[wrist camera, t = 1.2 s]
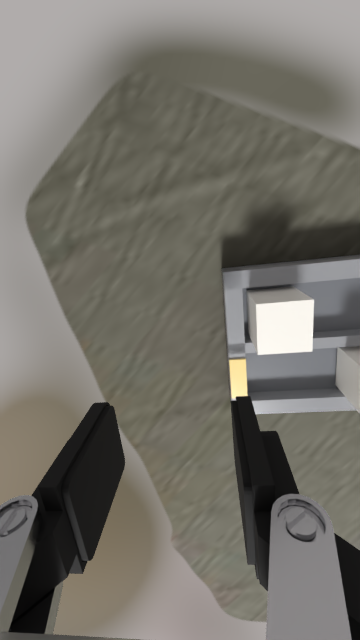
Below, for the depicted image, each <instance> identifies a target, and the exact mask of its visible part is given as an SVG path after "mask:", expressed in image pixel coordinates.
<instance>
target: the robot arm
mask: <svg viewBox="0 0 360 640" xmlns="http://www.w3.org/2000/svg"><path fill="white" fill-rule="evenodd" d="M231 412H232V427H233V442H234V457H235V467H236V475H237V483H238V491H239V499H240V507H241V515H242V523H243V531H244V539H245V547H246V555H247V563H248V565H255V570H256V577H257V579H259V581H260V584H261V585H262V586H263V587H264V588H265V589H266V590H267V591H268V604H267V631H266V640H360V550H358V549H357V548H355V547H354V546H352V545H351V544H349V543H348V542H347V541H345V540H344V539H342V538H341V537H339V536H338V535H336V534H335V533H334V530H333V525H332V522H331V519H330V517H329V515H328V514H327V512H326V511H325V509H324V508H323V507H322V506H321V505H319V504H318V503H317V502H316V501H314V500H312V499H311V498H309V497H306V496H303V495H300V494H299V492H298V489H297V486H296V483H295V480H294V478H293V475H292V472H291V469H290V466H289V464H288V461H287V458H286V455H285V452H284V450H283V447H282V444H281V441H280V438H279V435H278V433H277V432H276V431H260V429H259V426H258V422H257V418H256V414H255V411H254V407H253V403H252V400H251V396H236V400H232V401H231ZM124 466H125V458H124V453H123V449H122V444H121V439H120V434H119V429H118V424H117V420H116V415H115V410H114V407H113V406H110V404H109V403H108V402H105V403H94V404H93V405H92V406H91V408H90V409H89V411H88V412H87V414H86V415H85V417H84V419H83V420H82V421H81V423H80V424H79V426H78V427H77V429H76V430H75V432H74V433H73V435H72V437H71V438H70V439H69V440H68V441H67V443H66V444H65V446H64V447H63V449H62V450H61V452H60V453H59V455H58V457H57V458H56V459H55V461H54V462H53V464H52V466H51V467H50V468H49V470H48V472H47V473H46V475H45V476H44V477H43V479H42V481H41V482H40V484H39V485H38V487H37V488H36V490H35V491H34V493H33V494H32V496H29V495H24V496H18V497H15V498H12V499H10V500H8V501H7V502H5V503H3V504H2V505H1V506H0V640H137V639H120V638H103V637H86V636H69V635H68V636H67V635H53V631H54V626H55V621H56V616H57V611H58V606H59V601H60V597H61V592H62V587H63V580H65V579H66V578H67V577H68V574H69V573H75V574H83V572H84V569H85V566H86V563H87V561H90V560H91V559H92V558H93V556H94V554H95V550H96V548H97V545H98V542H99V539H100V536H101V533H102V530H103V528H104V525H105V522H106V519H107V516H108V513H109V510H110V508H111V505H112V502H113V499H114V496H115V493H116V490H117V487H118V484H119V481H120V479H121V476H122V473H123V470H124Z"/></svg>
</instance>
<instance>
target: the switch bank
mask: <svg viewBox="0 0 360 640" xmlns="http://www.w3.org/2000/svg"><path fill="white" fill-rule="evenodd" d="M222 282H223V297H224V312H225V327H226V342H227V357H228V372H229V387H230V400H231V401H232V400H236V396H251V400H252V403H253V407H254V411H255V414H272V413H298V412H324V411H350V410H356V409H355V407H354V406H353V405H352V404H351V403H350V402H349V400H348V399H347V398H346V397H345V396H344V394H343V393H342V392H341V391H340V390H339V389H338V387H337V386H336V385H335V382H336V365H337V348H338V347H353V346H360V255H350V256H340V257H330V258H320V259H310V260H300V261H290V262H280V263H270V264H260V265H250V266H240V267H230V268H222ZM292 286H293V287H295V288H296V289H298V290H300V291H301V292H303V293H304V294H306V295H308V296H309V297H311V298H312V299H314V316H313V350H312V352H297V353H281V354H265V355H257V352H256V350H255V347H254V345H253V343H252V340H251V338H250V336H249V333H248V315H247V290H258V289H269V288H280V287H292Z"/></svg>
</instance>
